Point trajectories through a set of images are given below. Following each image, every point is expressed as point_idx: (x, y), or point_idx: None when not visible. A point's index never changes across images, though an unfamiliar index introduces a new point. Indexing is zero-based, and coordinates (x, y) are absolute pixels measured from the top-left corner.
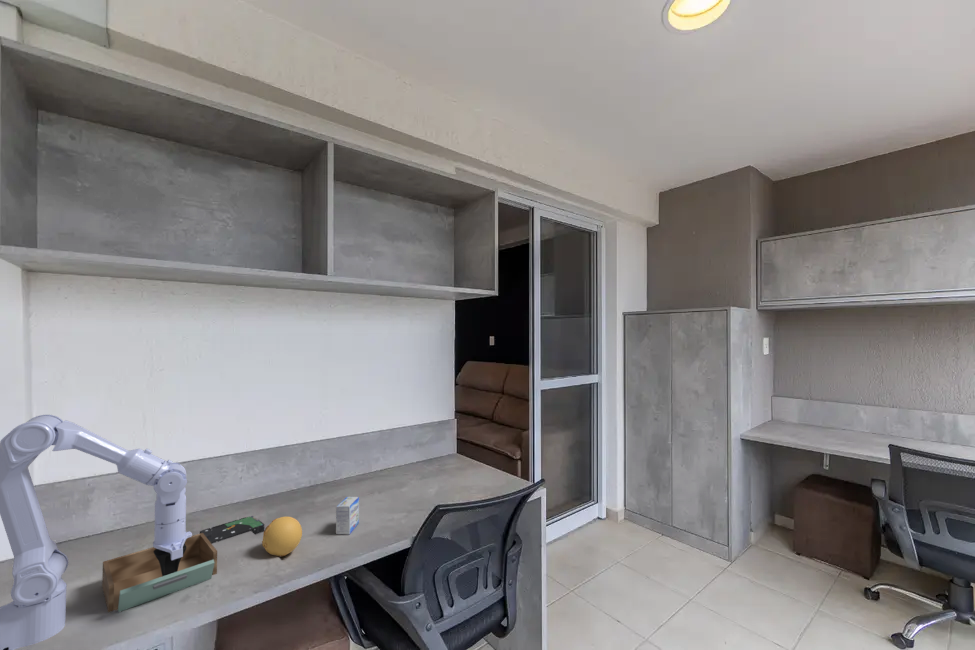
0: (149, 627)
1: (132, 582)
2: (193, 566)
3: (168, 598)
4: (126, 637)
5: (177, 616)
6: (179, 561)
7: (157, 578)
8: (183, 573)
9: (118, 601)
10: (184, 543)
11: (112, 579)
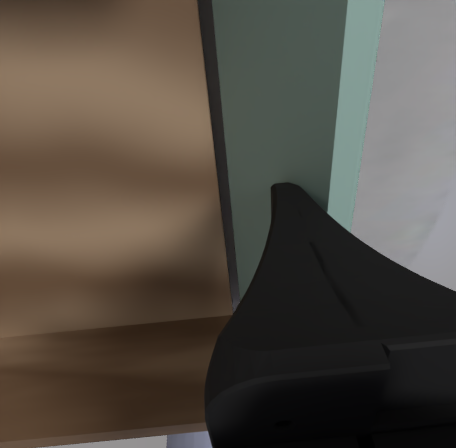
0: (415, 207)
1: (8, 278)
2: (345, 83)
3: (223, 138)
4: (405, 261)
5: (441, 114)
6: (373, 250)
7: None
8: (358, 155)
9: (169, 307)
10: (385, 369)
11: (177, 425)
